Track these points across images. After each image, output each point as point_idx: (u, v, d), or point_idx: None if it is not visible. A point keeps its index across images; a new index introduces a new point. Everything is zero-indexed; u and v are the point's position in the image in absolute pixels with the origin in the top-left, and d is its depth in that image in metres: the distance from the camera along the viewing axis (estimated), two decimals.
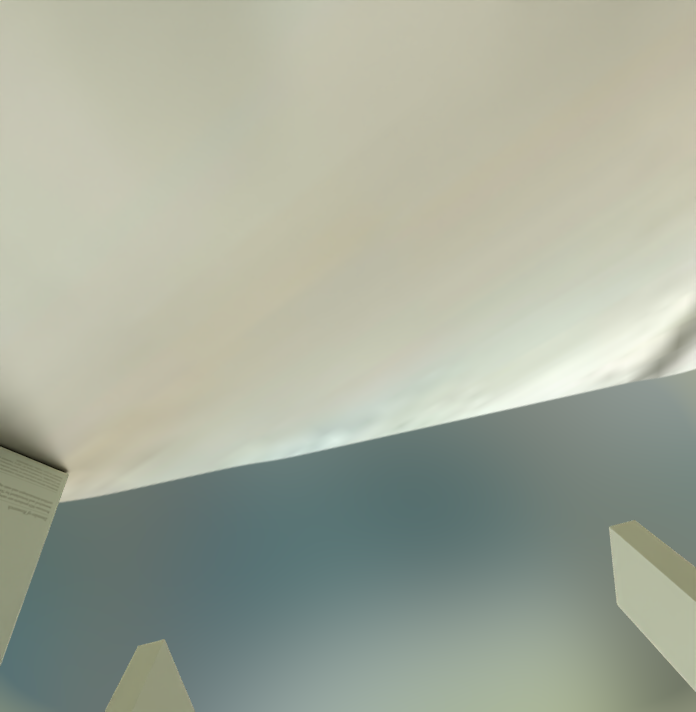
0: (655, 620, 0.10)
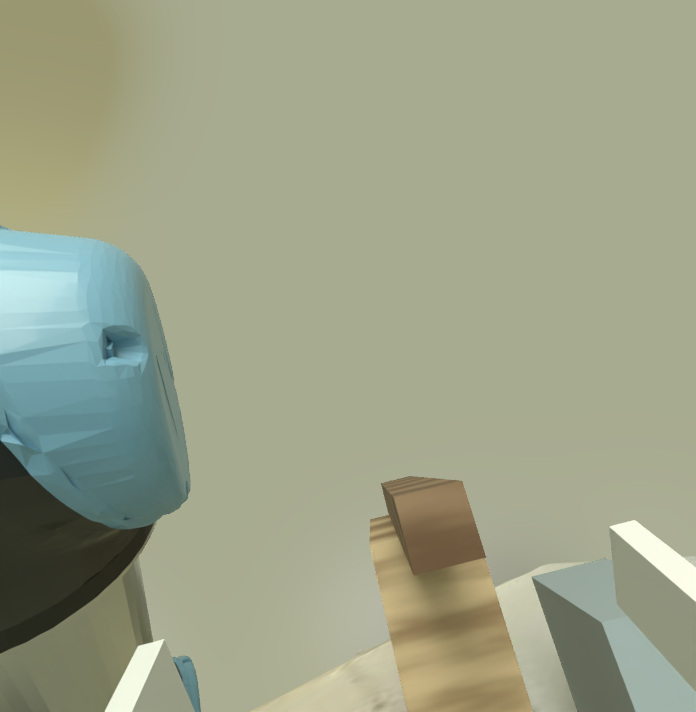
0: (655, 620, 0.10)
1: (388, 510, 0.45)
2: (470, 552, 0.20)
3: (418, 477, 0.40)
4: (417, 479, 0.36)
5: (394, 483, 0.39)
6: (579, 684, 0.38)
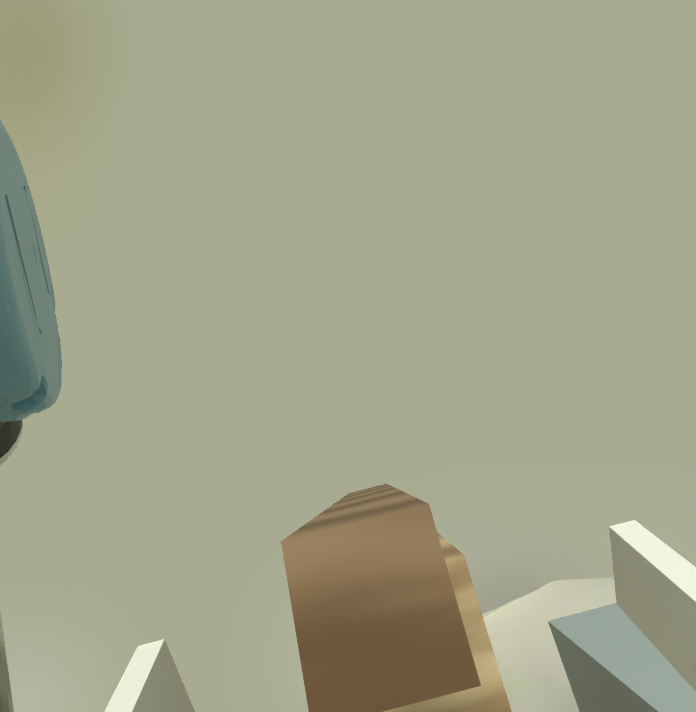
0: (655, 620, 0.10)
1: None
2: (444, 672, 0.09)
3: None
4: (383, 490, 0.24)
5: (355, 495, 0.28)
6: None
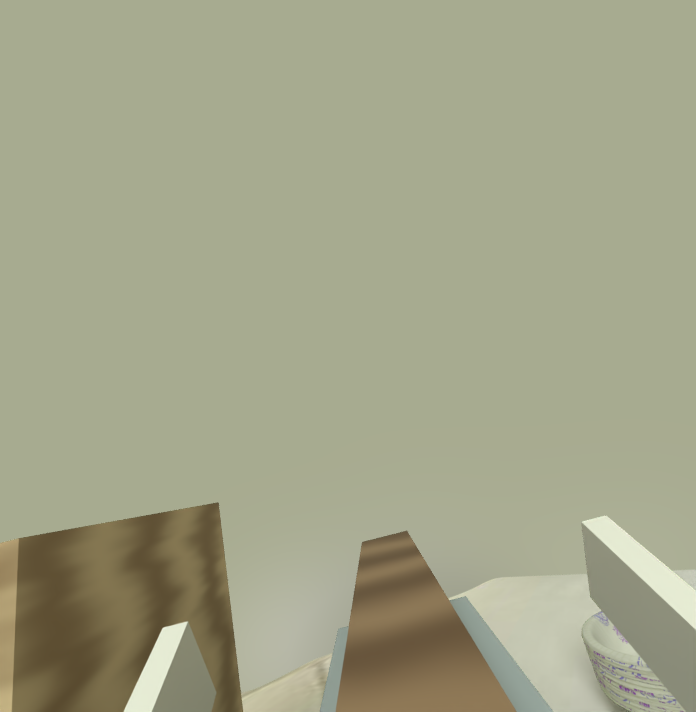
0: (623, 611, 0.10)
1: None
2: None
3: (419, 557, 0.22)
4: (417, 577, 0.18)
5: (376, 568, 0.22)
6: None
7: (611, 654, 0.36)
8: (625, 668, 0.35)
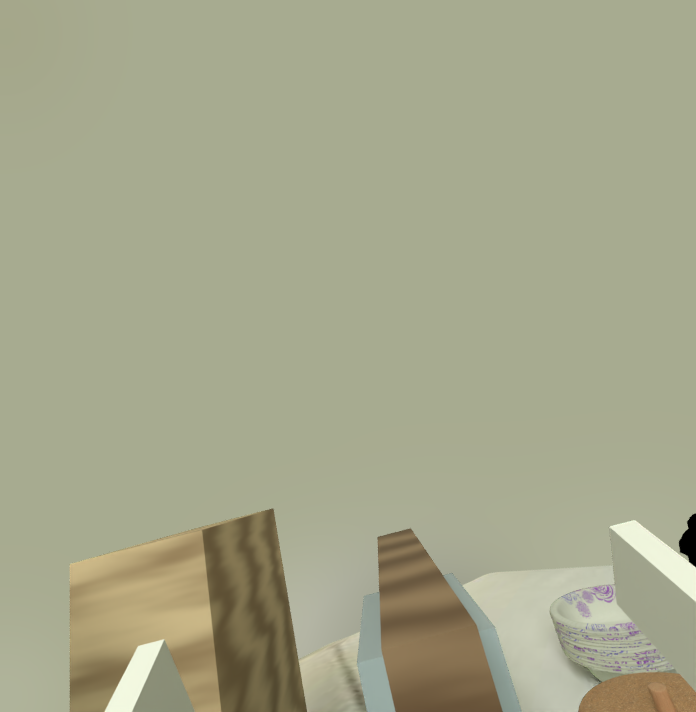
0: (655, 620, 0.10)
1: None
2: None
3: (419, 544, 0.33)
4: (417, 554, 0.30)
5: (391, 552, 0.33)
6: None
7: (568, 622, 0.47)
8: (577, 632, 0.46)
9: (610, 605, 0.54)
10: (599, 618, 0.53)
